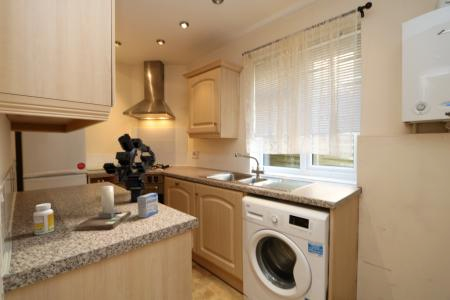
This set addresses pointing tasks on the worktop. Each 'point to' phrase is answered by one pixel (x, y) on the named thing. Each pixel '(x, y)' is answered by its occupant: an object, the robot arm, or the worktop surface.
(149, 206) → the medicine box
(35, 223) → the supplement bottle
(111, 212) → the white tall cylinder
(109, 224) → the base
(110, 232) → the worktop surface
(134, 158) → the robot arm
